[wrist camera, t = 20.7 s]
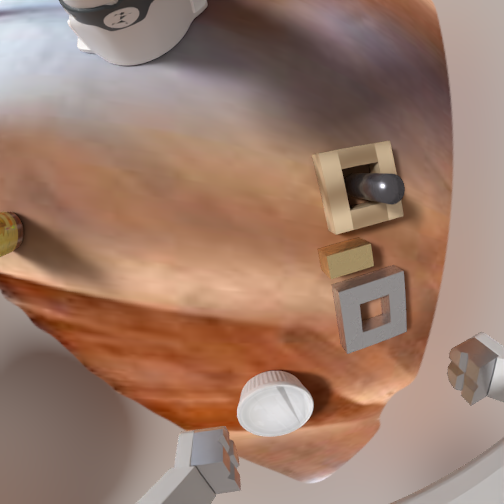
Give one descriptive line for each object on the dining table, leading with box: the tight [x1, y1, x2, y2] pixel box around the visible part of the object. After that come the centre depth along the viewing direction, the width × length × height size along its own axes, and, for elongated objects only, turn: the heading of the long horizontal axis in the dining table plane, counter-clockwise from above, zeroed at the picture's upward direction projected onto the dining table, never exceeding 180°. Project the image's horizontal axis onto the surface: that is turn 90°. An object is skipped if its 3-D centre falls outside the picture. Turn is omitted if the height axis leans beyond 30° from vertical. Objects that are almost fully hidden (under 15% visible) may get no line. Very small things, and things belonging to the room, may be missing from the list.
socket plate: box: [332, 265, 407, 354], centre depth 41 cm, size 10×10×3 cm
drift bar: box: [318, 237, 374, 279], centre depth 38 cm, size 3×6×4 cm, turn 104°
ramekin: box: [237, 370, 314, 436], centre depth 43 cm, size 11×11×5 cm
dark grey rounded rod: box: [344, 173, 404, 205], centre depth 34 cm, size 3×3×10 cm
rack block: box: [312, 141, 404, 235], centre depth 37 cm, size 10×10×3 cm
